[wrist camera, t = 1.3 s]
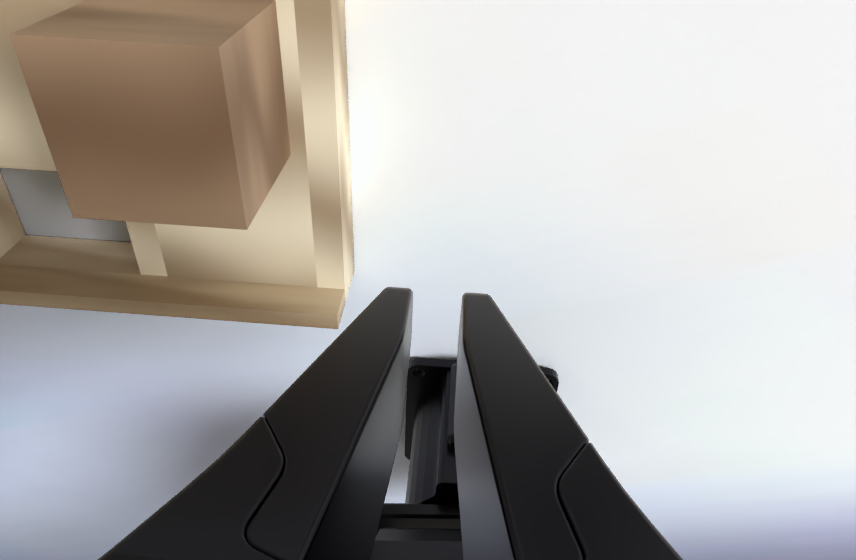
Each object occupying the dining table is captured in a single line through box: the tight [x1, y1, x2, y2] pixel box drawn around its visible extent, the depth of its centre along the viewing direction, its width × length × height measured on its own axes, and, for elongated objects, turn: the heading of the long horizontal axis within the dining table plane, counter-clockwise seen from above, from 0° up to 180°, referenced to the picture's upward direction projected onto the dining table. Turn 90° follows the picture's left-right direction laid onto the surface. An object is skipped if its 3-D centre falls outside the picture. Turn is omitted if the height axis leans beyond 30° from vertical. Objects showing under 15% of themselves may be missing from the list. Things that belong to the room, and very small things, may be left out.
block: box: [9, 0, 291, 230], centre depth 16 cm, size 4×4×4 cm
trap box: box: [0, 0, 354, 329], centre depth 17 cm, size 20×14×4 cm
